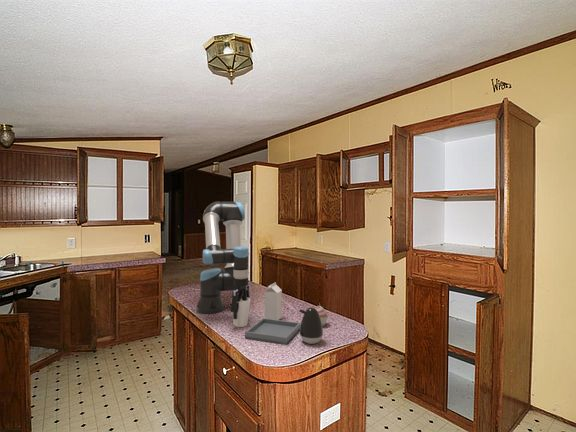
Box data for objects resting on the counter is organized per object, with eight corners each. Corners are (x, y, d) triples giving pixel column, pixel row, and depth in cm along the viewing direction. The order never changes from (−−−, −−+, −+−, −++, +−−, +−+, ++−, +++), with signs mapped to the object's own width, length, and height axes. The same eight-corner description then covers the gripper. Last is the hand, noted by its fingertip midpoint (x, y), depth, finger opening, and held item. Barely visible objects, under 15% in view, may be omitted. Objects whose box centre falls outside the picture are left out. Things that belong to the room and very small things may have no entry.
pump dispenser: (298, 337, 150) (298, 304, 150) (320, 336, 151) (320, 304, 151) (300, 346, 140) (301, 311, 140) (324, 346, 141) (325, 310, 141)
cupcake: (305, 324, 168) (306, 304, 168) (319, 320, 174) (319, 301, 173) (318, 329, 161) (318, 309, 160) (332, 325, 166) (332, 305, 166)
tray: (244, 338, 149) (245, 331, 149) (262, 324, 168) (262, 318, 168) (286, 344, 142) (286, 337, 142) (300, 329, 161) (300, 323, 161)
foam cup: (246, 328, 161) (246, 302, 160) (228, 327, 163) (228, 301, 162) (252, 322, 170) (252, 297, 170) (235, 321, 172) (235, 296, 172)
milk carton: (281, 317, 178) (282, 282, 177) (277, 322, 171) (277, 285, 171) (269, 316, 180) (269, 281, 180) (264, 320, 173) (264, 284, 173)
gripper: (237, 282, 154) (236, 330, 155) (257, 274, 175) (256, 316, 175) (223, 281, 157) (222, 328, 157) (244, 273, 177) (244, 314, 178)
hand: (240, 321), depth 166 cm, fingers closed on foam cup, 9 cm apart
